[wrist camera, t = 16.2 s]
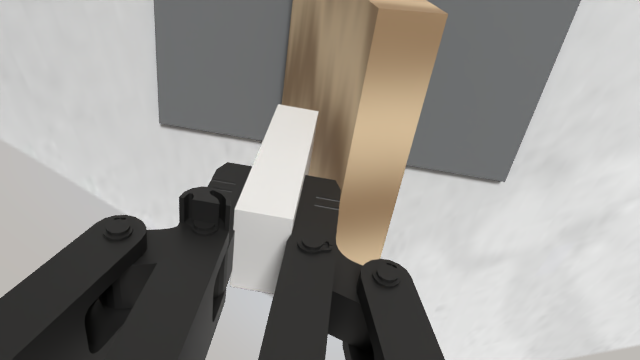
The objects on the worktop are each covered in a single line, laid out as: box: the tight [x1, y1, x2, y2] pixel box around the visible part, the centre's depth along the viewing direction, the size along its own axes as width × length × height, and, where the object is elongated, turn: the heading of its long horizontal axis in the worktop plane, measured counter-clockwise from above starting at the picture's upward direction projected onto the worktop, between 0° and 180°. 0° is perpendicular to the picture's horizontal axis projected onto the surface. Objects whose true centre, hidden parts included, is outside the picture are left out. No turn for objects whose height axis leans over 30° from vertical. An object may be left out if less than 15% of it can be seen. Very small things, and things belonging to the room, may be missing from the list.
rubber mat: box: [154, 0, 581, 182], centre depth 25 cm, size 20×12×1 cm, turn 82°
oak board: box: [282, 0, 448, 265], centre depth 21 cm, size 11×2×10 cm, turn 172°
